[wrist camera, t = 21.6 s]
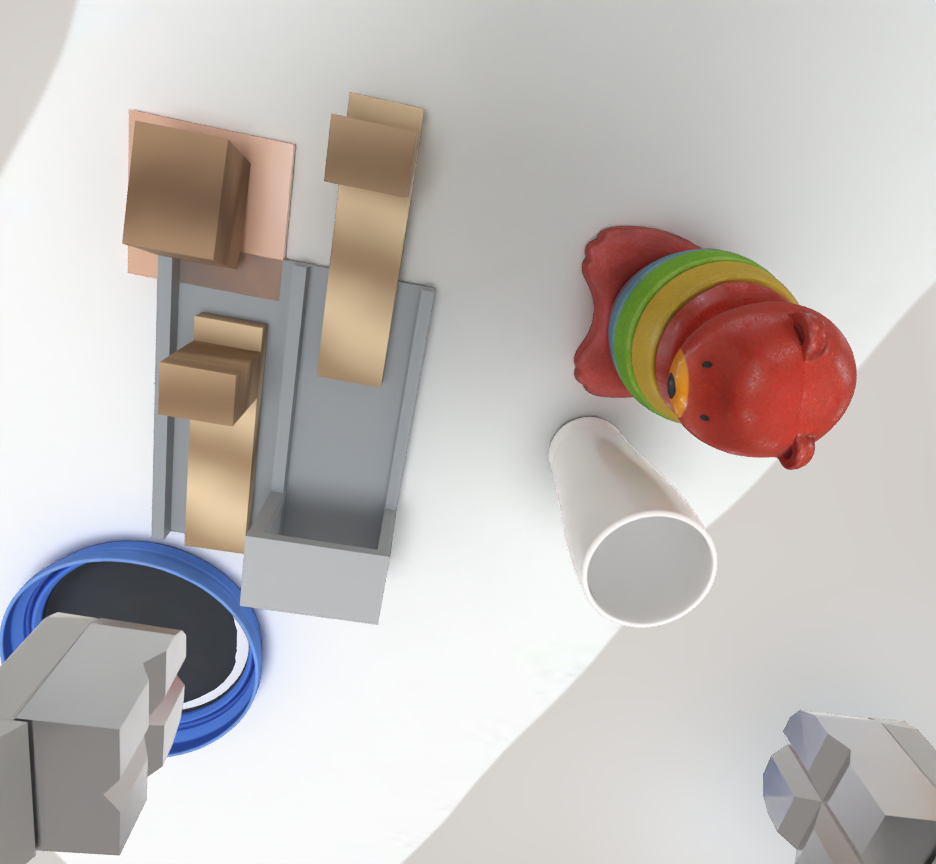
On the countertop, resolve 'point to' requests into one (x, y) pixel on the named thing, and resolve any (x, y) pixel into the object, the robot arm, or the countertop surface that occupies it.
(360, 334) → the strip near
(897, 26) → the countertop surface
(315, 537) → the lane board
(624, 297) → the stacking bear
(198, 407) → the strip far
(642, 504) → the drinking glass
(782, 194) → the countertop surface
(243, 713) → the blue round shallow tray
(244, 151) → the coaster
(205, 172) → the walnut block
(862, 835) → the robot arm
